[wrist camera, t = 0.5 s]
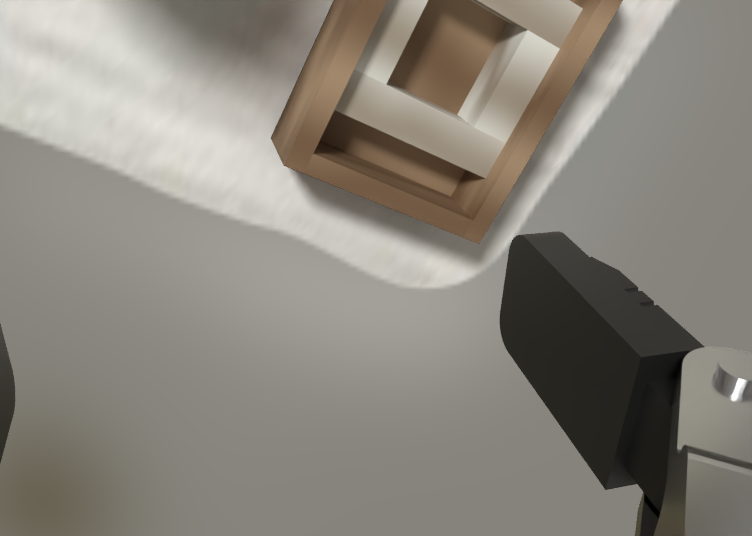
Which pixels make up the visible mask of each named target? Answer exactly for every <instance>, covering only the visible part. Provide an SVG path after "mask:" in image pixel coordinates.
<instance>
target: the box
mask: <svg viewBox="0 0 752 536" xmlns="http://www.w3.org/2000/svg"><path fill="white" fill-rule="evenodd" d="M622 1H623V0H334V1H333V3H332V5H331V8H330V10H329V12H328V14H327V16H326V19H325V21H324V23H323V25H322V27H321V29H320V32H319V34H318V36H317V38H316V40H315V43H314V45H313V47H312V49H311V51H310V54H309V56H308V58H307V60H306V62H305V64H304V67H303V69H302V71H301V73H300V75H299V78H298V80H297V82H296V84H295V86H294V89H293V91H292V93H291V95H290V97H289V100H288V102H287V104H286V106H285V108H284V110H283V113H282V115H281V117H280V119H279V121H278V124H277V126H276V128H275V130H274V132H273V135H272V137H271V139H272V141H273V143H274V146H275V148H276V150H277V152H278V154H279V156H280V159H281V161H282V163H283V165H284V166H286V167H289V168H291V169H294V170H296V171H299V172H301V173H304V174H306V175H309V176H311V177H314V178H316V179H319V180H321V181H324V182H326V183H329V184H331V185H334V186H336V187H339V188H341V189H344V190H346V191H349V192H351V193H354V194H356V195H359V196H361V197H364V198H366V199H369V200H371V201H374V202H376V203H379V204H381V205H384V206H386V207H389V208H391V209H394V210H396V211H399V212H401V213H404V214H406V215H409V216H411V217H414V218H416V219H419V220H421V221H424V222H426V223H428V224H431V225H433V226H436V227H438V228H441V229H443V230H446V231H448V232H451V233H453V234H456V235H458V236H461V237H463V238H466V239H468V240H471V241H473V242H476V243H478V244H479V243H480V242H481V240H482V238H483V237H484V235H485V233H486V232H487V230H488V228H489V226H490V225H491V223H492V221H493V220H494V218H495V216H496V215H497V213H498V211H499V210H500V208H501V206H502V204H503V203H504V201H505V199H506V198H507V196H508V194H509V193H510V191H511V189H512V187H513V186H514V184H515V182H516V181H517V179H518V177H519V176H520V174H521V172H522V170H523V169H524V167H525V165H526V164H527V162H528V160H529V159H530V157H531V155H532V154H533V152H534V150H535V148H536V147H537V145H538V143H539V142H540V140H541V138H542V137H543V135H544V133H545V131H546V130H547V128H548V126H549V125H550V123H551V121H552V120H553V118H554V116H555V114H556V113H557V111H558V109H559V108H560V106H561V104H562V103H563V101H564V99H565V98H566V96H567V94H568V92H569V91H570V89H571V87H572V86H573V84H574V82H575V81H576V79H577V77H578V75H579V74H580V72H581V70H582V69H583V67H584V65H585V64H586V62H587V60H588V58H589V57H590V55H591V53H592V52H593V50H594V48H595V47H596V45H597V43H598V42H599V40H600V38H601V36H602V35H603V33H604V31H605V30H606V28H607V26H608V25H609V23H610V21H611V19H612V18H613V16H614V14H615V13H616V11H617V9H618V8H619V6H620V4H621V2H622Z"/></svg>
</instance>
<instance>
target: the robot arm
mask: <svg viewBox="0 0 752 536" xmlns="http://www.w3.org/2000/svg"><path fill="white" fill-rule="evenodd" d="M500 329H501V335H502V339H503V342H504V345H505V347H506V349H507V351H508V353H509V354H510V355H511V357H512V358H513V360H514V361H515V362H516V364H517V365H518V367H519V368H520V369H521V371H522V372H523V374H524V375H525V376H526V378H527V379H528V381H529V382H530V384H531V385H532V386H533V388H534V389H535V391H536V392H537V394H538V395H539V396H540V398H541V399H542V400H543V402H544V403H545V405H546V406H547V408H548V409H549V410H550V412H551V413H552V415H553V416H554V418H555V419H556V420H557V422H558V423H559V425H560V426H561V427H562V429H563V430H564V432H565V433H566V435H567V436H568V437H569V439H570V440H571V442H572V443H573V444H574V446H575V447H576V449H577V450H578V451H579V453H580V454H581V456H582V457H583V458H584V460H585V461H586V462H587V464H588V465H589V467H590V468H591V470H592V471H593V473H594V474H595V475H596V477H597V478H598V480H599V481H600V483H601V484H602V485H603V487H604V488H605V490H607V489H613V488H618V487H623V486H628V485H634V484H638V485H639V487H640V488H641V489H642V490H643V494H642V497H641V501H640V504H639V508H638V513H637V521H636V530H635V536H752V354H750V353H748V352H744V351H740V350H737V349H732V348H726V347H704V346H703V345H702V344H701V343H700V342H698V341H697V340H696V339H695V338H694V337H693V336H692V335H691V334H690V333H688V332H687V331H686V330H685V329H684V328H683V327H681V325H679V324H678V323H677V322H676V321H675V320H674V319H673V318H672V317H670V316H669V315H668V314H667V313H666V312H665V311H664V310H663V309H662V308H660V307H659V306H658V305H654V301H653V300H651V299H650V298H649V297H648V296H647V295H646V294H645V293H643V291H638V287H637V286H636V285H635V284H634V283H632V282H631V281H630V280H629V279H628V278H627V277H626V276H625V275H623V274H622V273H621V272H620V271H619V270H617V269H615V268H613V267H611V266H609V265H607V264H605V263H603V262H601V261H599V260H597V259H595V258H593V257H589V256H588V255H586V254H585V253H584V252H583V251H582V250H581V249H580V248H579V247H578V246H577V245H576V244H574V243H573V242H572V241H571V240H570V239H569V238H568V237H567V236H566V235H565V234H563V233H562V232H548V233H537V234H527V235H526V234H525V235H518V236H516V237H515V238H514V239H513V240H512V242H511V245H510V249H509V255H508V262H507V269H506V277H505V283H504V290H503V297H502V304H501V311H500ZM14 407H15V383H14V376H13V370H12V366H11V363H10V359H9V355H8V351H7V347H6V344H5V340H4V336H3V332H2V328H1V325H0V462H1V459H2V455H3V451H4V448H5V444H6V440H7V436H8V432H9V429H10V425H11V421H12V418H13V414H14Z"/></svg>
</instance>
